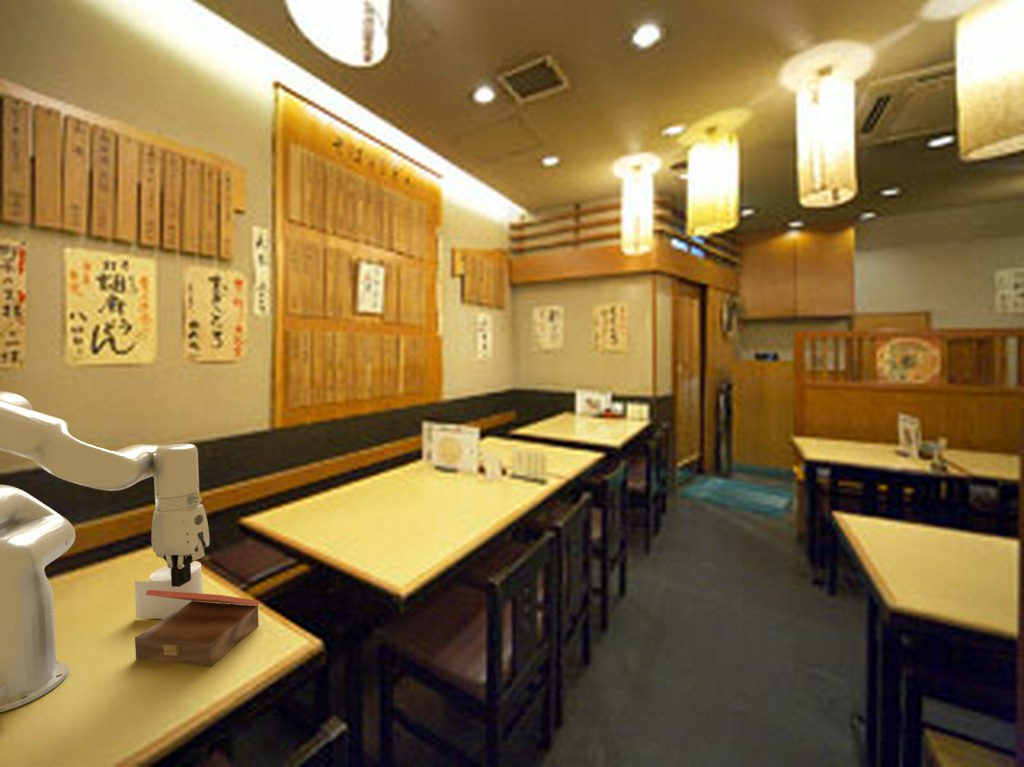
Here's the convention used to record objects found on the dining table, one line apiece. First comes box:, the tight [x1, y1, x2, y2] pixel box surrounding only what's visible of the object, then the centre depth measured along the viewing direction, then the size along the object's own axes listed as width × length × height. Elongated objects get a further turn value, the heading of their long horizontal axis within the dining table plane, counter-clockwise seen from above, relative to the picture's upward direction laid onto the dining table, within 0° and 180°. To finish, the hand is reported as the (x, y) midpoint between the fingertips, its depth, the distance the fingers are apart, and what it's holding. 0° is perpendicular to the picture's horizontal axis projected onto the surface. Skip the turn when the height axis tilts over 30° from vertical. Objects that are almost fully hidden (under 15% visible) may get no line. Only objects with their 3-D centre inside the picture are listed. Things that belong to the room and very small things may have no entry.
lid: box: [145, 590, 260, 607], centre depth 97 cm, size 14×18×1 cm
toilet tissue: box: [134, 560, 203, 620], centre depth 109 cm, size 11×12×10 cm
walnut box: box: [134, 601, 260, 668], centre depth 96 cm, size 15×18×5 cm
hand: (181, 583), depth 91 cm, fingers closed
